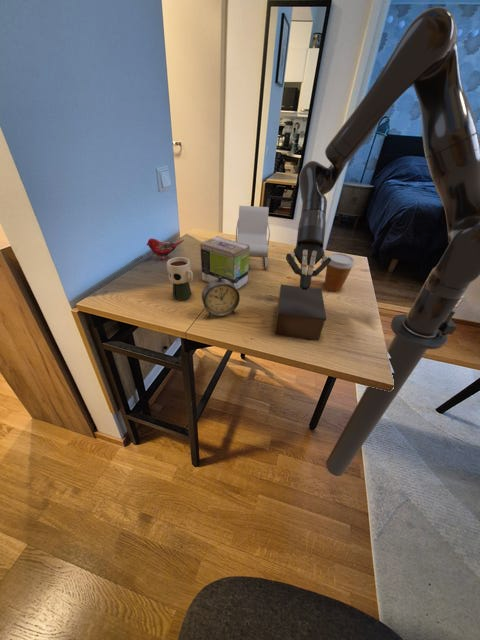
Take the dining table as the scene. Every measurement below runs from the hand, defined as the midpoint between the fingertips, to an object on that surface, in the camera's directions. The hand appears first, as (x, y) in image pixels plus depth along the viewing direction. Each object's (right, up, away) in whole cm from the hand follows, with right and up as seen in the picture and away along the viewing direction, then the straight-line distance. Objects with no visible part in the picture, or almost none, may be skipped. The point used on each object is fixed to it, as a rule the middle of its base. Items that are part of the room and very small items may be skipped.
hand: (304, 289), depth 72 cm
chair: (-13, +19, +44) cm, 50 cm away
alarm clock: (-24, -7, +10) cm, 27 cm away
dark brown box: (0, -9, +9) cm, 13 cm away
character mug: (-38, -1, +17) cm, 42 cm away
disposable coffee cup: (+17, +4, +27) cm, 32 cm away
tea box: (-24, +6, +27) cm, 37 cm away
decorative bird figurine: (-49, +18, +41) cm, 67 cm away
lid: (0, -3, +3) cm, 5 cm away
